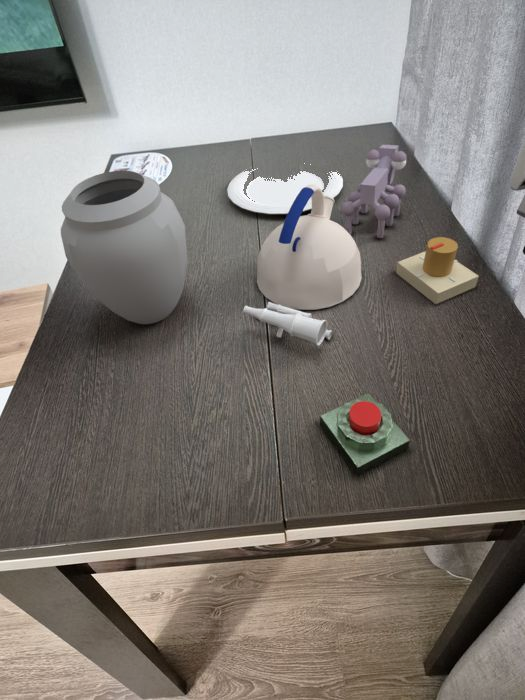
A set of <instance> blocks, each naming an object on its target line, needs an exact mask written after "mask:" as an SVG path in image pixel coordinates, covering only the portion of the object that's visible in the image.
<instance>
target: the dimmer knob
mask: <svg viewBox="0 0 525 700" xmlns="http://www.w3.org/2000/svg"><path fill="white" fill-rule="evenodd" d="M458 249H459V244H458V243H457V242H456V241H455V240H454V239H452V238H449V237H445V236H436V237H433V238H431V239H429V240H428V241H427V244H426V248H425V251H426V253H425V258H424V263H423V270H424V271H425V272H426V273H427V274H429V275H431V276H436V277H442V276H446V275H448V274H450V273H451V271H452V267H453V264H454V260H456V256H457V252H458Z"/></svg>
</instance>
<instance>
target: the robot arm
mask: <svg viewBox="0 0 525 700" xmlns="http://www.w3.org/2000/svg"><path fill="white" fill-rule="evenodd" d="M509 188H510V190H512V191H516V192H517V191H523V190H525V140H524V141H523V144H522V146H521V148H520V151H519V154H518V156H517V159H516V162H515V165H514V168H513V170H512V173H511V177H510V181H509ZM516 214H517V216H519V217H522V218H524V219H525V195H524V196H523V197H522V200H521V202H520V203H519V205H518V207H517V209H516ZM522 254H523V255H524V256H525V245H523V248H522Z"/></svg>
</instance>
